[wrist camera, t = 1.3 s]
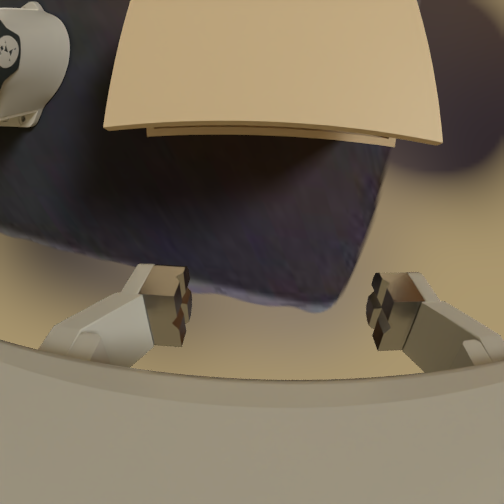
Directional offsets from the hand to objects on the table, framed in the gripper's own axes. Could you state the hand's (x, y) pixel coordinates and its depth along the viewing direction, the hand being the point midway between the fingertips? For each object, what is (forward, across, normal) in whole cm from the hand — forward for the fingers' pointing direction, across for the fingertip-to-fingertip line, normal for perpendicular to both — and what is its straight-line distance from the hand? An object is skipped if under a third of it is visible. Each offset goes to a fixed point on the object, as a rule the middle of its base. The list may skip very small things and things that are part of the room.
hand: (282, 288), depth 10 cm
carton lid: (+14, 0, -11) cm, 17 cm away
